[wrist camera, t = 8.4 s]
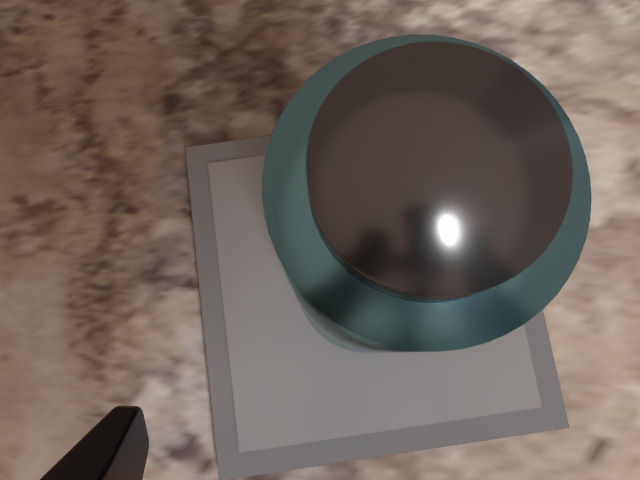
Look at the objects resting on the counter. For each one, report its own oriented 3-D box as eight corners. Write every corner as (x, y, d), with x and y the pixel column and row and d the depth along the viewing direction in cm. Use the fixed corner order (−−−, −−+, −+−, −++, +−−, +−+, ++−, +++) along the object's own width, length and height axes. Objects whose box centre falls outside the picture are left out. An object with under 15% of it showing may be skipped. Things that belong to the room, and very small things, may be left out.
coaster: (562, 425, 20) (570, 427, 19) (222, 477, 20) (218, 481, 19) (492, 110, 23) (497, 102, 22) (188, 152, 22) (184, 146, 22)
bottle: (412, 373, 20) (571, 408, 7) (276, 324, 20) (197, 273, 7) (454, 240, 21) (663, 59, 8) (324, 195, 21) (326, -46, 8)
